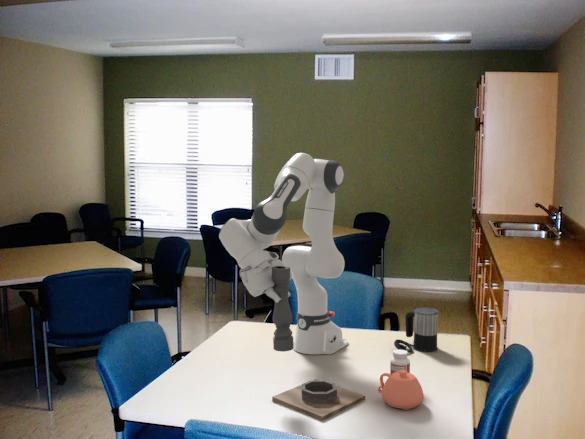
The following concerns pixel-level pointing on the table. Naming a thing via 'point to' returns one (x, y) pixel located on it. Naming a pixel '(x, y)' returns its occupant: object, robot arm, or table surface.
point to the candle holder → (282, 310)
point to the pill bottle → (399, 361)
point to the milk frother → (421, 330)
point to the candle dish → (318, 408)
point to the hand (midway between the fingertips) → (284, 298)
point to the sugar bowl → (401, 390)
